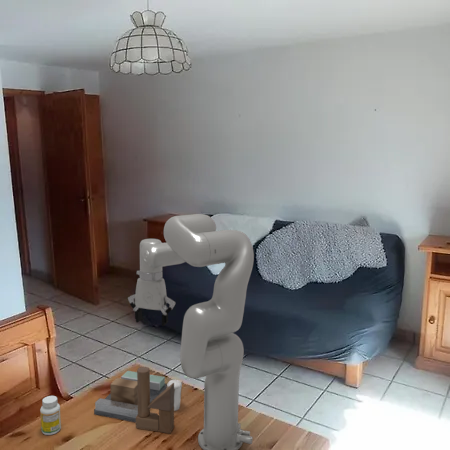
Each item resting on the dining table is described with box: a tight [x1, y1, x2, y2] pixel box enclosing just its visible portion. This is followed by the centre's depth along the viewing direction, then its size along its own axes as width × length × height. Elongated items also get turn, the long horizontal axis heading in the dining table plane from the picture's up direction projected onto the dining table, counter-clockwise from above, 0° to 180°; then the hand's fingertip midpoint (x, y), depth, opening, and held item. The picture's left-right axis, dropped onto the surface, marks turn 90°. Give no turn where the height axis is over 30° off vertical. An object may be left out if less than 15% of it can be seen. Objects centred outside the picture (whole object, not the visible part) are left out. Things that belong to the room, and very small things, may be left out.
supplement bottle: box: [39, 395, 62, 436], centre depth 132 cm, size 5×5×10 cm
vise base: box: [93, 383, 168, 423], centre depth 148 cm, size 15×21×4 cm
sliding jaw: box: [120, 370, 166, 391], centre depth 156 cm, size 14×5×2 cm, turn 74°
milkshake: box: [166, 378, 184, 412], centre depth 144 cm, size 4×5×10 cm
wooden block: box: [135, 366, 175, 434], centre depth 133 cm, size 4×11×18 cm, turn 78°
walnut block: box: [109, 377, 138, 405], centre depth 144 cm, size 8×4×7 cm, turn 75°
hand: (151, 322), depth 160 cm, fingers open, 9 cm apart
